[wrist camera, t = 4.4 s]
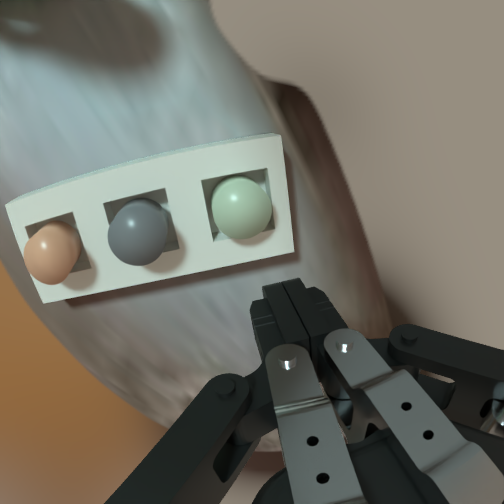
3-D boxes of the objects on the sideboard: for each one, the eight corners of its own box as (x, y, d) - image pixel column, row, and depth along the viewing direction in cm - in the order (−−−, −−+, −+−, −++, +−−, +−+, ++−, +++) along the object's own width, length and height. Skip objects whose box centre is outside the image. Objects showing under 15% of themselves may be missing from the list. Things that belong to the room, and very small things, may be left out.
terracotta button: (32, 227, 23) (16, 241, 20) (72, 215, 24) (58, 228, 21) (48, 271, 25) (35, 289, 22) (88, 262, 25) (77, 279, 23)
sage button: (206, 180, 26) (208, 188, 23) (259, 170, 26) (268, 177, 23) (215, 229, 27) (218, 244, 25) (266, 219, 28) (275, 233, 25)
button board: (20, 195, 24) (4, 204, 21) (271, 132, 26) (280, 135, 24) (53, 287, 28) (43, 303, 25) (284, 238, 31) (294, 251, 28)
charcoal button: (110, 204, 24) (100, 217, 21) (161, 192, 24) (157, 202, 21) (124, 253, 26) (117, 271, 23) (174, 242, 26) (172, 259, 23)
